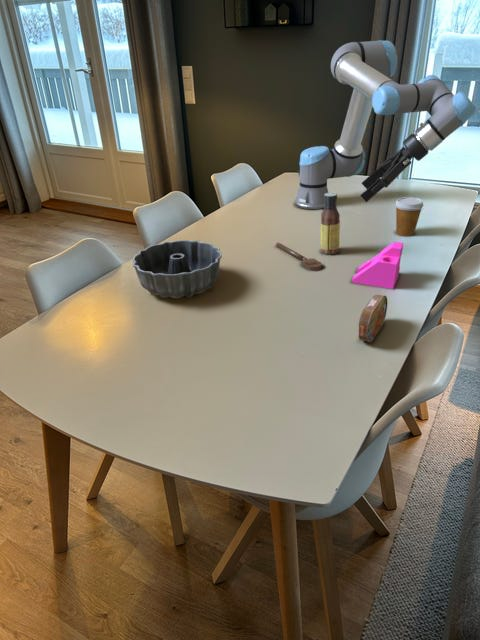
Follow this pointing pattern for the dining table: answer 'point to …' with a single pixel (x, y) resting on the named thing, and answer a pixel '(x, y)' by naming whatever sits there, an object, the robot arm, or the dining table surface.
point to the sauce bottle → (330, 225)
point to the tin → (372, 318)
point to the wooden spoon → (302, 258)
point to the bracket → (381, 268)
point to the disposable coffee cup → (407, 215)
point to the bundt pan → (178, 268)
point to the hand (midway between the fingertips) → (363, 192)
